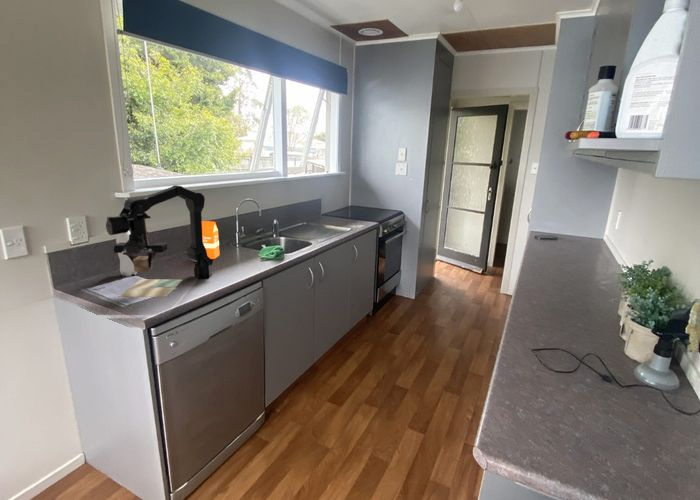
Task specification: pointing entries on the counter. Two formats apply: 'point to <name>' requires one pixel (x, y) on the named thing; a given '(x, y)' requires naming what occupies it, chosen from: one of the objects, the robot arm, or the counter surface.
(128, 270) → the water bottle
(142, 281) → the birch board
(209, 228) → the orange juice
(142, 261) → the walnut block
